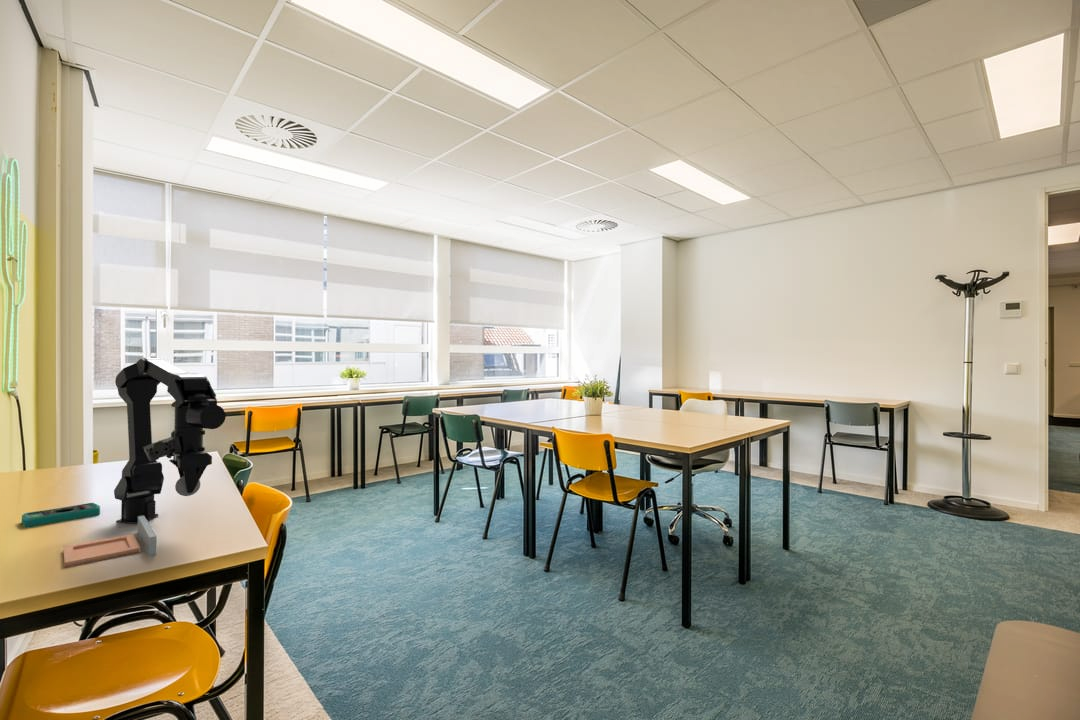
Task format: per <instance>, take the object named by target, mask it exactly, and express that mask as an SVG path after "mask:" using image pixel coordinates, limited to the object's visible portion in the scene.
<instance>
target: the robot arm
mask: <svg viewBox="0 0 1080 720" xmlns="http://www.w3.org/2000/svg"><path fill="white" fill-rule="evenodd" d="M114 381H115V382H114V383H115V386H116V389H117V392H118V396H119V397H120V398H121V400H122V401H123V402H124V403H125V404H126V413H127V433H128V434H127V435H128V436H127V437H128V454H129V456H128V457H129V458H128V461H127V462H126V464H125V466H124V467H123V468H122V470H121V478H120V480H118V483H117V485H116V486H115V488H114V490H113V494H114V499H115V500H119V501H121V503H120V504H121V507H120V508H121V512H120V513H121V515H120V516H121V517H120V519H117V520H115V523H116V524H117V523H118V524H119V523H120V524H138V516H145V518H146V520H147V521H149V520H151V519H155V518H157V517H158V516H159V513H156V500H155V495H161V493H162V488H163V484H164V480H165V476H164V473H163V464H162V463H161V461H157V460H159V459H160V458H163V457H165V456H166V458H167V459H169V460H168V461H169V462H170V463H172V465H174V466H175V467H176V468H177V471H178V474H179V479H180V478H181V477H183V476H184V479H185V484H186V489H187V493H192V492H193V491H194V489H195V487H196V485H197V483H198V481H199V480H201V477H202V476H203V474H204V471H205V470H206V469H207V467H209V466H211V465H212V464H213V457H212V455H211V454H209V453H208V452H206V447H205V446H204V435H206V430H215V429H218V428H220V427H221V426H222V425H223V424H224V423H225V422H226V419H227V418H226V417H227V413H226V411H225V410H224V408H223V407H221V406H220V405H218V400H217V394H216V392H215V390H214V389H213V387H212V384H211V381H210V380H209V379H208V377H207V376H206V375H204V374H201V373H196V372H186V371H184V370H182V369H181V368H178V367H177V366H174V365H173V364H171V363H169V362H167V361H166V360H165V359H164V358H161V357H143V358H140V359H139V360H138V361H136V362H135V363H133V364H130V365H127V366H126V367H124V368H122V369H121V371H119V372H118V374H117V375H116V377H115V380H114ZM159 384H163V385H165V386H166V387H167V389H166V392H167V393H168V394H169V395H170V396H171V397H172V398H173V400H174V401H173V402H172V403H171V406H170V407H171V408H174V429H173V430H172V431H171V433H170V434H171V435H170V437H167V438H163V439H161V440H158V441H155V442H153V437H152V436H153V433H152V417H151V413H152V412H151V401H152V400H153V398H154V397H155V396H156V394H157V393H158V386H159ZM205 429H206V430H205ZM172 457H173V458H172ZM171 458H172V459H171Z"/></svg>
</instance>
